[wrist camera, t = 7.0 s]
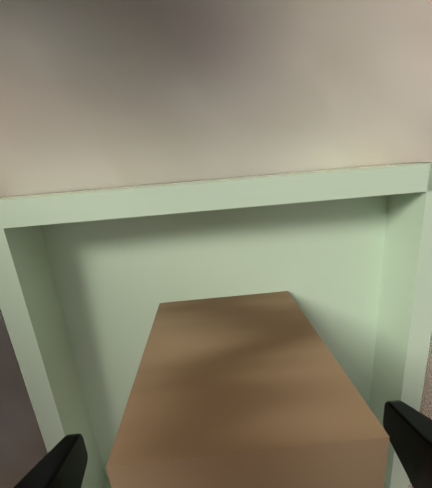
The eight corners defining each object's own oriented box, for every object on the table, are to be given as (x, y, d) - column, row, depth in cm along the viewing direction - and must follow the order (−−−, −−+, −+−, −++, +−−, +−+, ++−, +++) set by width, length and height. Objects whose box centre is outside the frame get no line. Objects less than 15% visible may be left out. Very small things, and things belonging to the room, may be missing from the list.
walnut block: (288, 290, 11) (389, 436, 5) (289, 395, 12) (369, 607, 6) (159, 303, 10) (106, 466, 5) (175, 406, 12) (148, 633, 6)
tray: (411, 162, 10) (457, 161, 8) (379, 459, 13) (405, 502, 12) (10, 196, 9) (-35, 203, 8) (92, 490, 13) (75, 540, 11)
